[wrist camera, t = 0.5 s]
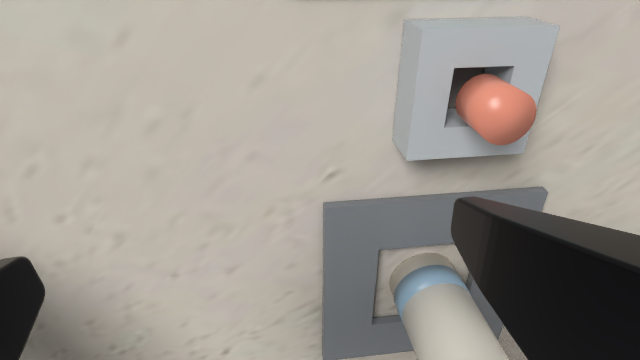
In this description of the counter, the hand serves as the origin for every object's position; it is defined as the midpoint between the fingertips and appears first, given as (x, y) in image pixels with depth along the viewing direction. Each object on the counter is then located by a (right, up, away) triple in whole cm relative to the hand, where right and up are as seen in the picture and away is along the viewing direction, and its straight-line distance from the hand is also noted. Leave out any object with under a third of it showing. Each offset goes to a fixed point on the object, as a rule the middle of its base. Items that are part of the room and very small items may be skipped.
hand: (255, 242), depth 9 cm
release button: (+9, +5, +10) cm, 15 cm away
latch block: (+8, +7, +13) cm, 17 cm away
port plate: (+8, -6, +20) cm, 22 cm away
